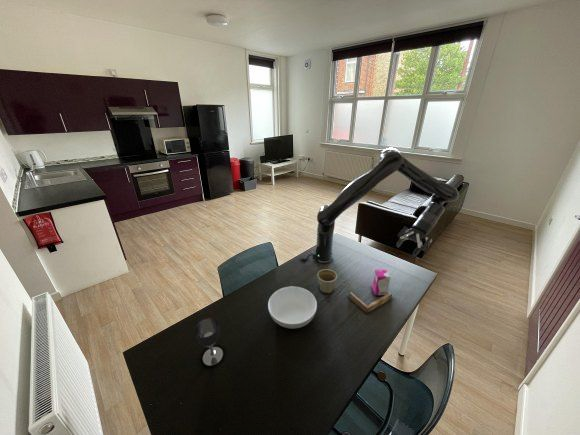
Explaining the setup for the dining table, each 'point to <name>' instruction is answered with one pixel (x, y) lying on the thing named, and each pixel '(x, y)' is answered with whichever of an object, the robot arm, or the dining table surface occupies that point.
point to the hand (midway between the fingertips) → (405, 250)
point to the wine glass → (209, 340)
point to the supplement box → (381, 282)
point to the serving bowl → (292, 307)
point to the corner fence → (372, 305)
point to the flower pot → (326, 280)
